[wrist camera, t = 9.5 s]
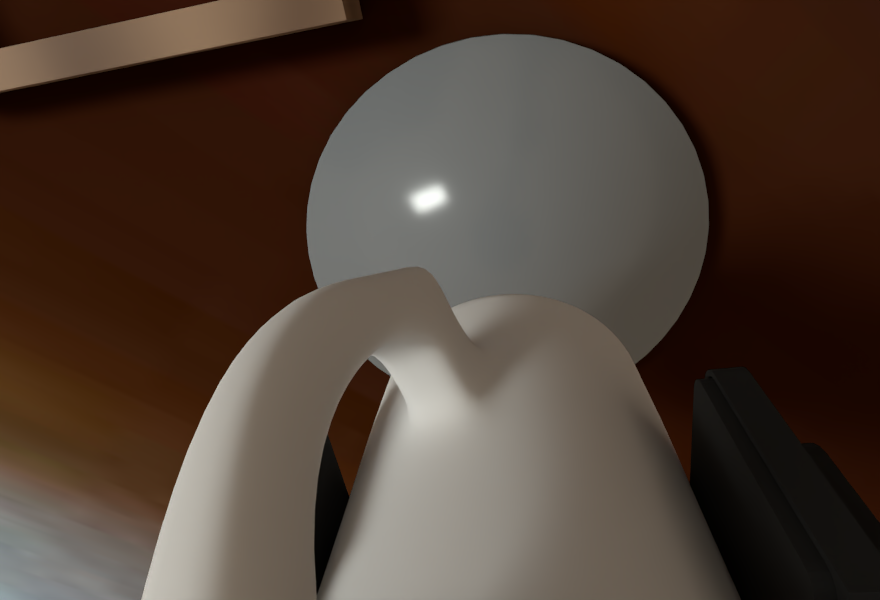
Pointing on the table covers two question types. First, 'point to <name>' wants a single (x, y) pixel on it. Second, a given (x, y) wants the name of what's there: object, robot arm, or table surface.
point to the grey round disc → (517, 184)
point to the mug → (437, 461)
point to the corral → (165, 37)
